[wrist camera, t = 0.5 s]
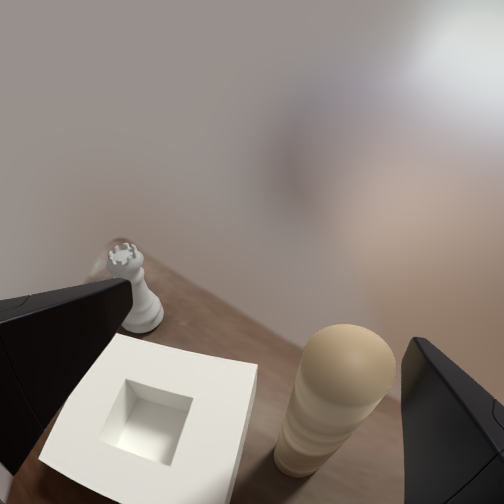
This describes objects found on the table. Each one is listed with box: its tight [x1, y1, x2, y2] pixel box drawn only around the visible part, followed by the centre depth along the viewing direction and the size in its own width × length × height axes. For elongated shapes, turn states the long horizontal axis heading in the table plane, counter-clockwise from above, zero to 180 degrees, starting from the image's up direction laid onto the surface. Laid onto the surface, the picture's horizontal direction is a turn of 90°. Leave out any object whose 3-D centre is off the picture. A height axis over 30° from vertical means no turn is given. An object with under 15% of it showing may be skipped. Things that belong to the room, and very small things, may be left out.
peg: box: [274, 324, 396, 478], centre depth 14 cm, size 4×4×13 cm
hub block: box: [39, 333, 258, 504], centre depth 17 cm, size 12×12×4 cm
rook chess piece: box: [106, 243, 164, 333], centre depth 26 cm, size 4×4×8 cm
